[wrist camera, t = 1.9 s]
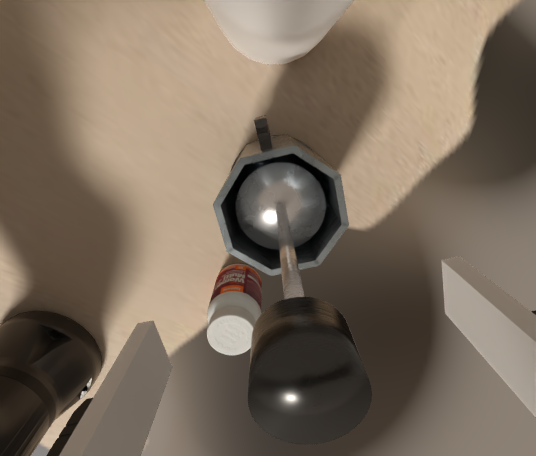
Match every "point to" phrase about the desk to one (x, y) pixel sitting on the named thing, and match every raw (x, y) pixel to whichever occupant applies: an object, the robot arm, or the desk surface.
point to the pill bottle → (234, 309)
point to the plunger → (298, 321)
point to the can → (276, 26)
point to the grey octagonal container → (269, 152)
